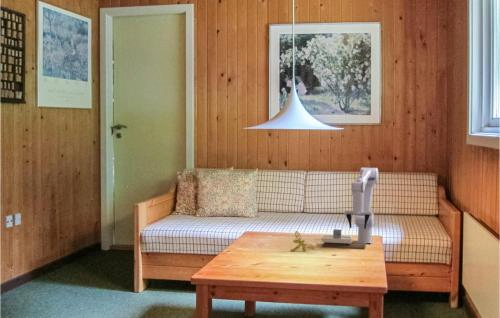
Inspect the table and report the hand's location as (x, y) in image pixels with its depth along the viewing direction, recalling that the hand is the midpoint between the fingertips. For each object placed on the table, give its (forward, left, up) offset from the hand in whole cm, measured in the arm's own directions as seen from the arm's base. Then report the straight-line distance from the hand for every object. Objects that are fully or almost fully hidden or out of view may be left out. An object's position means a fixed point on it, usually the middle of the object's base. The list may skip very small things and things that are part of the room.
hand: (357, 228), depth 298 cm
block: (-1, -11, -7) cm, 13 cm away
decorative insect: (+20, -27, -11) cm, 35 cm away
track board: (-1, -7, -10) cm, 13 cm away
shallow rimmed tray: (-1, -11, -9) cm, 14 cm away
